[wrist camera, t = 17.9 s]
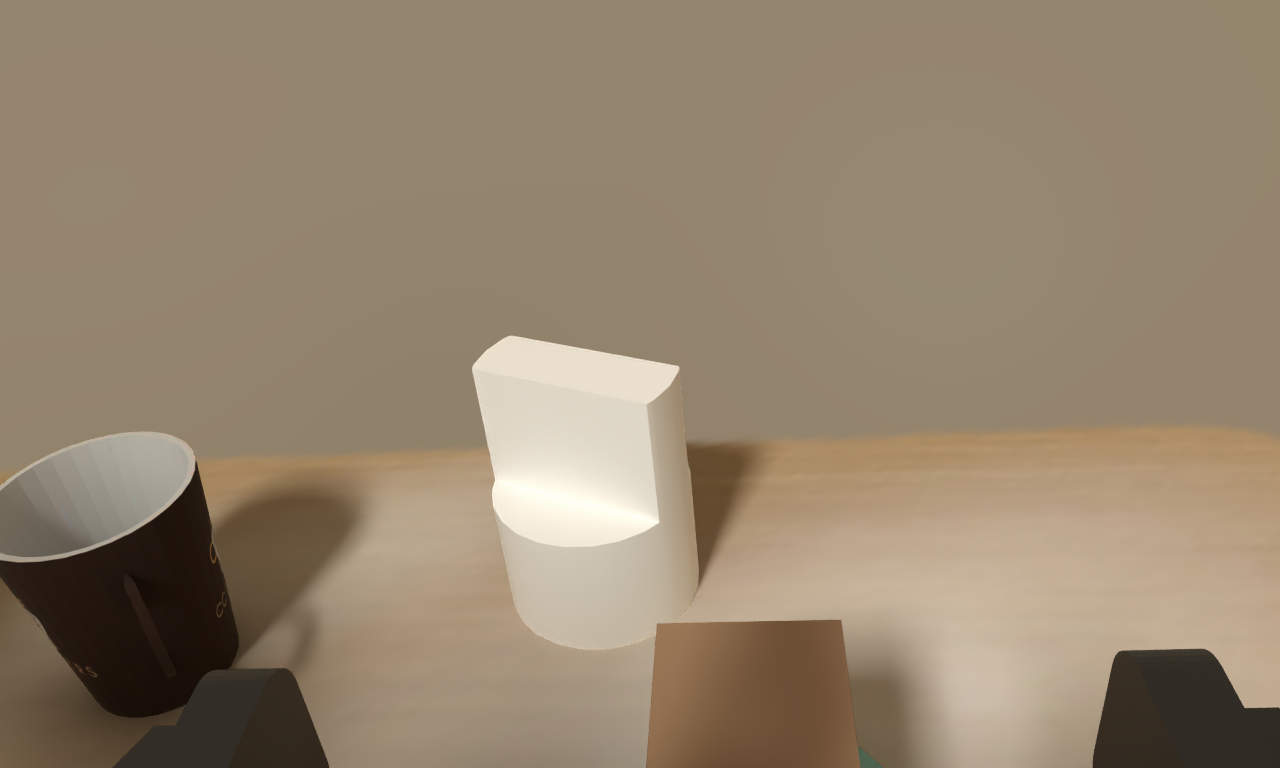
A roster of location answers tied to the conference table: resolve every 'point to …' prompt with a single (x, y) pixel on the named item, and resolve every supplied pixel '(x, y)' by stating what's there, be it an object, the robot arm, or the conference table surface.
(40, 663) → the conference table surface
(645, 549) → the base with upright slab
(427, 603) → the conference table surface
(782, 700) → the walnut brick
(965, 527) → the conference table surface
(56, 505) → the coffee mug
